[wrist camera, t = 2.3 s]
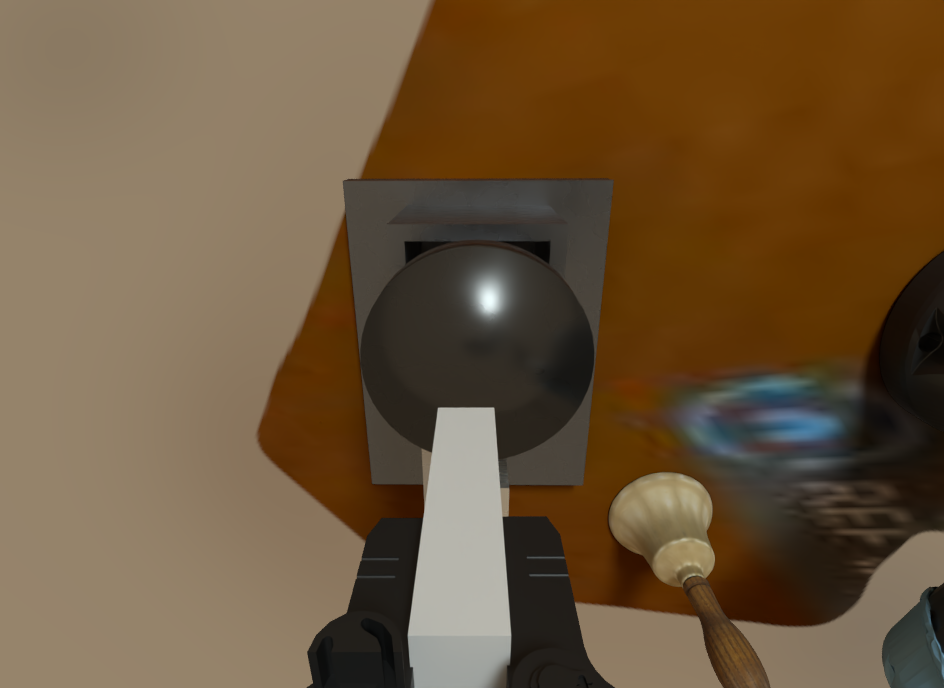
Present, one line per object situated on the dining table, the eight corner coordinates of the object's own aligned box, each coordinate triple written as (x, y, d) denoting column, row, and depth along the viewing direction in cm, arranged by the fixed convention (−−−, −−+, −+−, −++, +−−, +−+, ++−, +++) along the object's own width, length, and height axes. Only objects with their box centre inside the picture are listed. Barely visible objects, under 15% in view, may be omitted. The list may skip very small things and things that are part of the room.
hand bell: (642, 457, 38) (744, 654, 24) (731, 493, 40) (882, 702, 25) (589, 532, 41) (651, 751, 27) (674, 564, 43) (778, 789, 28)
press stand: (607, 178, 31) (695, 205, 18) (579, 472, 39) (626, 629, 27) (348, 178, 31) (260, 206, 18) (375, 472, 39) (328, 627, 27)
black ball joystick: (564, 212, 26) (605, 247, 17) (546, 481, 32) (570, 600, 24) (390, 212, 26) (349, 247, 18) (407, 480, 32) (383, 599, 24)
